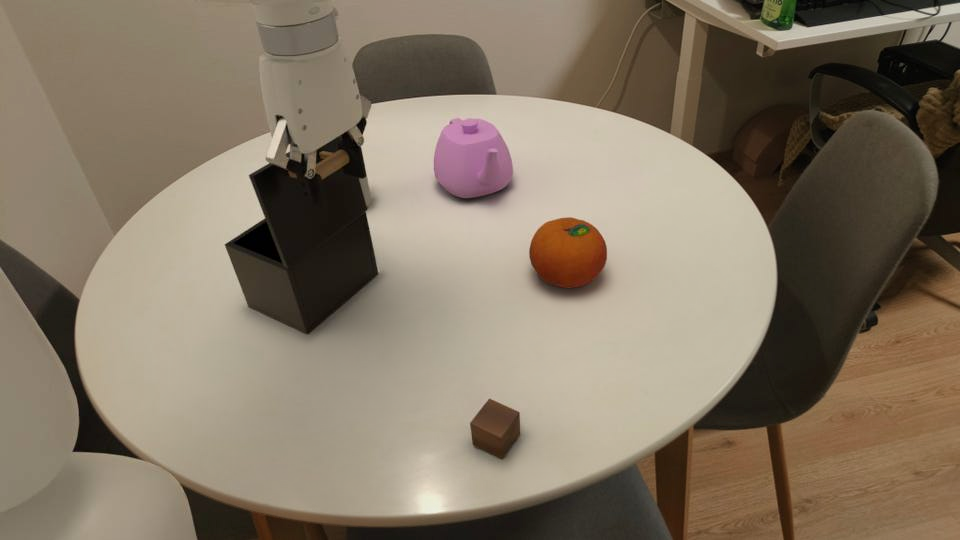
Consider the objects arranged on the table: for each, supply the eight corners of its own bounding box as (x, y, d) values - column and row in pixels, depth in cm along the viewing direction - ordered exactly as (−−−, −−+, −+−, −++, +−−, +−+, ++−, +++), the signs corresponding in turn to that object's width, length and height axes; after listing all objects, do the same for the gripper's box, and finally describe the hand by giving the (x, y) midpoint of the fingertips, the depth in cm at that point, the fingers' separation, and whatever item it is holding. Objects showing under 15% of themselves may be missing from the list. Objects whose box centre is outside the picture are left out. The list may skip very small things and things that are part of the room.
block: (502, 460, 65) (501, 438, 63) (472, 445, 67) (469, 422, 65) (520, 434, 68) (519, 411, 65) (490, 420, 70) (489, 397, 67)
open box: (248, 307, 88) (224, 244, 81) (321, 252, 97) (305, 191, 90) (307, 335, 82) (286, 270, 76) (378, 274, 92) (366, 212, 85)
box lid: (248, 175, 68) (278, 182, 66) (339, 122, 78) (369, 126, 75) (283, 266, 76) (312, 276, 73) (363, 208, 85) (391, 215, 82)
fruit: (516, 285, 88) (515, 238, 83) (549, 246, 95) (549, 201, 90) (587, 308, 83) (590, 260, 78) (616, 265, 90) (620, 218, 85)
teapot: (422, 170, 115) (414, 110, 108) (488, 153, 119) (484, 94, 112) (463, 224, 101) (456, 158, 93) (536, 202, 104) (536, 138, 97)
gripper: (330, 5, 70) (359, 150, 81) (204, 57, 58) (258, 217, 70) (383, 12, 66) (406, 163, 77) (259, 69, 55) (307, 235, 66)
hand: (336, 187), depth 73 cm, fingers closed on box lid, 6 cm apart
